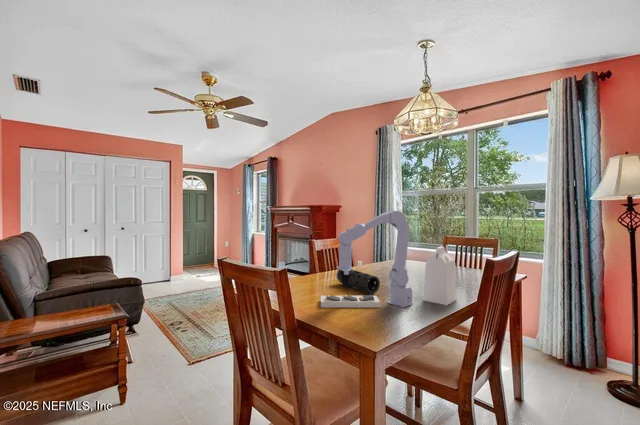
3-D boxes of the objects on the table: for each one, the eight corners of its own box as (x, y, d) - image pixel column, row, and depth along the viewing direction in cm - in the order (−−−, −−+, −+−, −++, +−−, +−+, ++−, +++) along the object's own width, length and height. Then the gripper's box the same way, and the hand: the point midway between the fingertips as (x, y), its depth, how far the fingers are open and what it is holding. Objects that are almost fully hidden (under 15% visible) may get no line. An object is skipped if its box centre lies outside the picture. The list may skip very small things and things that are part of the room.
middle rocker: (355, 299, 146) (356, 297, 146) (356, 302, 142) (357, 299, 142) (343, 296, 146) (343, 293, 146) (343, 298, 142) (344, 296, 142)
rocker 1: (338, 299, 146) (339, 297, 146) (339, 302, 142) (339, 299, 142) (326, 296, 146) (326, 293, 146) (326, 298, 142) (327, 296, 142)
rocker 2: (372, 296, 146) (371, 293, 146) (374, 298, 142) (373, 296, 142) (360, 299, 146) (359, 297, 146) (361, 302, 142) (360, 299, 142)
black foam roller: (366, 297, 157) (366, 276, 156) (335, 284, 180) (335, 267, 180) (380, 294, 162) (380, 274, 161) (348, 282, 185) (348, 265, 185)
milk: (433, 295, 160) (434, 245, 159) (456, 299, 152) (457, 247, 151) (423, 300, 151) (423, 247, 150) (446, 305, 143) (447, 249, 142)
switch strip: (376, 300, 150) (376, 295, 150) (380, 307, 140) (380, 301, 140) (320, 300, 150) (320, 295, 150) (320, 307, 140) (320, 301, 140)
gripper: (335, 255, 150) (335, 282, 151) (337, 260, 136) (337, 291, 136) (350, 255, 150) (350, 282, 151) (353, 260, 136) (353, 291, 136)
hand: (345, 286), depth 144 cm, fingers closed
